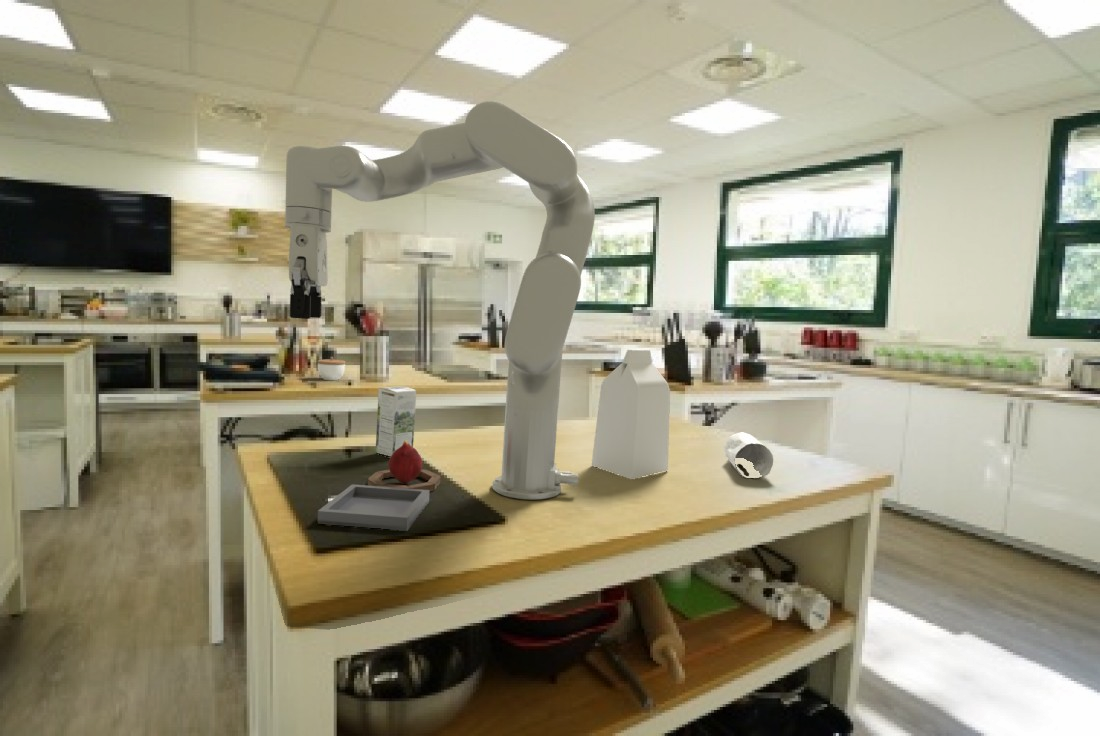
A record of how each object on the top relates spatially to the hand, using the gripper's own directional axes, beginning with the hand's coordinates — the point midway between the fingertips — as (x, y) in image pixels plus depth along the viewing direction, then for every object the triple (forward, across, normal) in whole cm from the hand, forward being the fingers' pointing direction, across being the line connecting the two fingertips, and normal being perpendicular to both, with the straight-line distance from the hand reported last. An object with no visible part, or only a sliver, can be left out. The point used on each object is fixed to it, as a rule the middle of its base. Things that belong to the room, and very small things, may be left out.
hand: (306, 317), depth 103 cm
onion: (+29, -6, -19) cm, 35 cm away
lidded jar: (+29, +136, +17) cm, 140 cm away
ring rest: (+29, -6, -19) cm, 35 cm away
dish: (+29, -21, -15) cm, 39 cm away
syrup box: (+29, +15, -16) cm, 36 cm away
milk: (+29, +5, -66) cm, 72 cm away
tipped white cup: (+29, +6, -92) cm, 97 cm away
